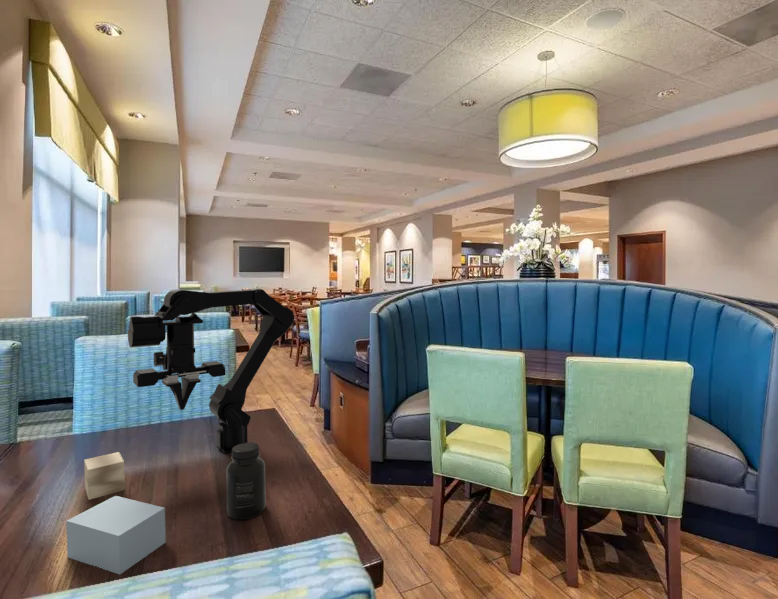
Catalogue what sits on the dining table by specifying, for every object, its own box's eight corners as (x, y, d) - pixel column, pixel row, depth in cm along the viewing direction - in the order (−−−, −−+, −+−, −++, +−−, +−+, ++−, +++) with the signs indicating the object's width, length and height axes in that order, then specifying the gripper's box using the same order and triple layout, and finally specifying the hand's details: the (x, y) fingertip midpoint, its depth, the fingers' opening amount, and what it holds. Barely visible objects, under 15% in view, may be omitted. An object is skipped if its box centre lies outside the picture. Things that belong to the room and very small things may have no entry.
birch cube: (119, 479, 91) (118, 451, 90) (124, 490, 86) (124, 461, 86) (84, 488, 87) (84, 459, 86) (88, 500, 82) (87, 469, 82)
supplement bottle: (273, 504, 81) (272, 442, 80) (250, 524, 75) (249, 457, 74) (243, 498, 83) (242, 438, 83) (218, 516, 77) (217, 451, 76)
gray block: (115, 495, 73) (66, 520, 65) (164, 507, 69) (118, 535, 62) (116, 529, 73) (67, 558, 65) (165, 543, 69) (119, 575, 62)
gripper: (210, 336, 111) (211, 395, 112) (128, 342, 99) (129, 408, 100) (225, 341, 103) (226, 405, 104) (137, 349, 91) (138, 421, 92)
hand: (181, 409), depth 100 cm, fingers closed
